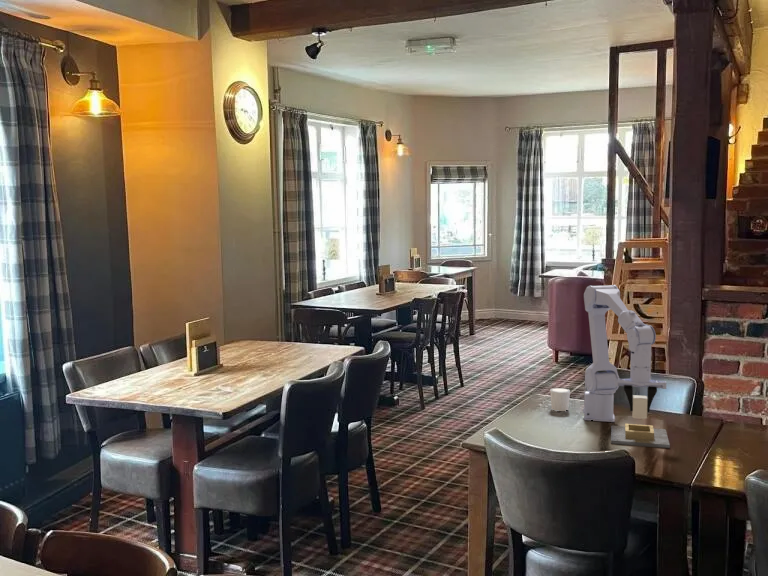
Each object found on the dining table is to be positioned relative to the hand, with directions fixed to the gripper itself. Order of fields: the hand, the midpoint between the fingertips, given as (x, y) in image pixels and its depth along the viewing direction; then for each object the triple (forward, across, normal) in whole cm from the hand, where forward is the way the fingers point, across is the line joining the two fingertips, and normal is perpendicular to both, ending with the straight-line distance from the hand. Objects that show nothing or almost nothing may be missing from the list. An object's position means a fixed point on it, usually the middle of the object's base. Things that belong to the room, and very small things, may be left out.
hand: (639, 410), depth 216 cm
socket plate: (+8, 0, 0) cm, 8 cm away
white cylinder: (+8, -25, +27) cm, 38 cm away
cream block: (+2, 0, 0) cm, 2 cm away
